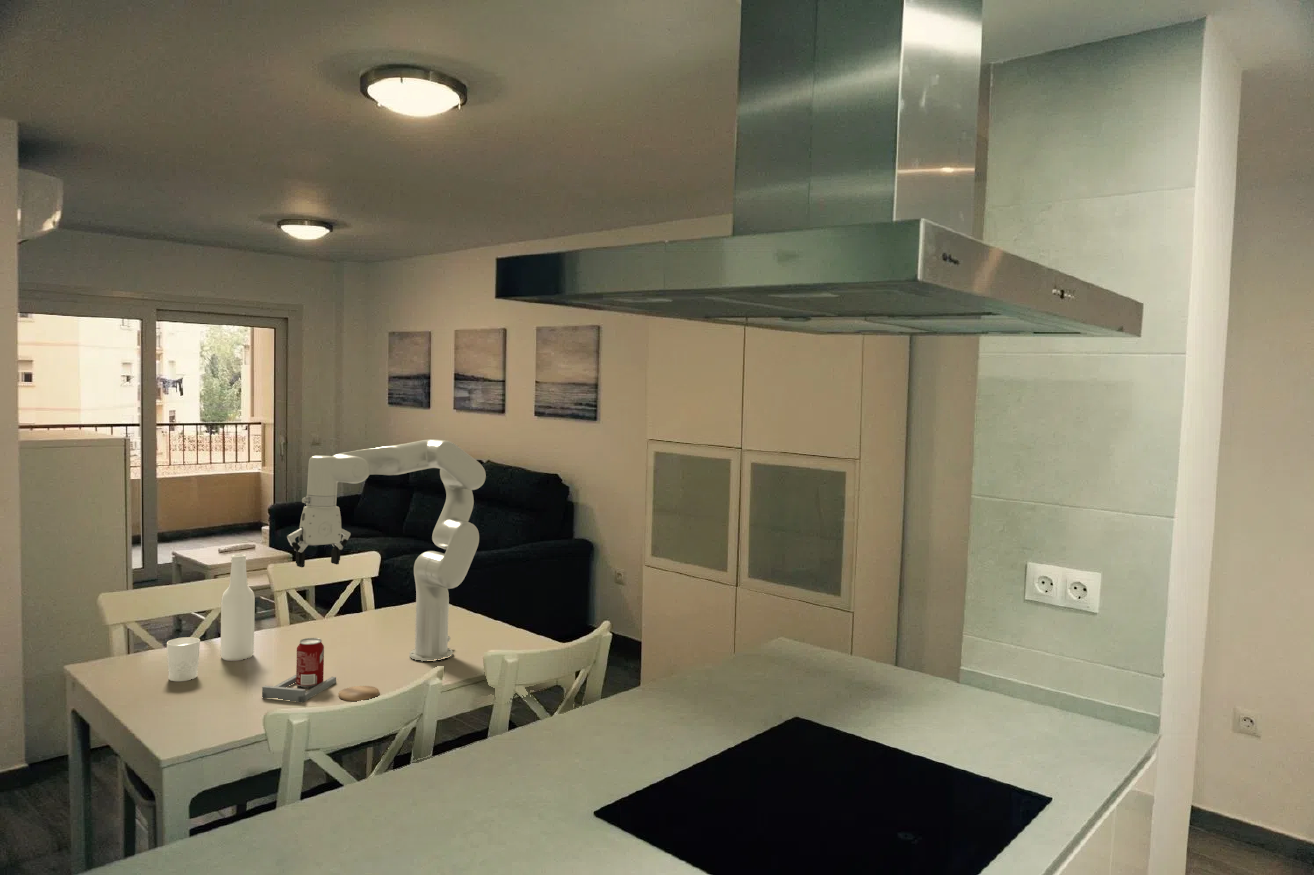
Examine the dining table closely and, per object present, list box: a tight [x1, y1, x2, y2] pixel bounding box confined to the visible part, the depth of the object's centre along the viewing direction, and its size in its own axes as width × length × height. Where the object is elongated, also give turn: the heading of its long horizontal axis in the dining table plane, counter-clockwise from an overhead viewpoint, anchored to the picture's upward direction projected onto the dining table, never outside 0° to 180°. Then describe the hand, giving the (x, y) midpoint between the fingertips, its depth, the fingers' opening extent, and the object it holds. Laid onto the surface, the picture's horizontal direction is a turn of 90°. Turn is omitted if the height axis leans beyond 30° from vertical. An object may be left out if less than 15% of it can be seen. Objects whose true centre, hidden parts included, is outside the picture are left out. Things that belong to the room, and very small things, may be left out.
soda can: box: [295, 637, 325, 689], centre depth 230 cm, size 7×7×12 cm
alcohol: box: [220, 553, 256, 662], centre depth 251 cm, size 9×9×30 cm
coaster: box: [337, 685, 380, 702], centre depth 224 cm, size 10×10×1 cm
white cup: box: [166, 636, 201, 682], centre depth 232 cm, size 8×8×10 cm
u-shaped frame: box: [261, 674, 337, 703], centre depth 226 cm, size 16×11×3 cm
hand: (317, 565), depth 231 cm, fingers open, 9 cm apart
